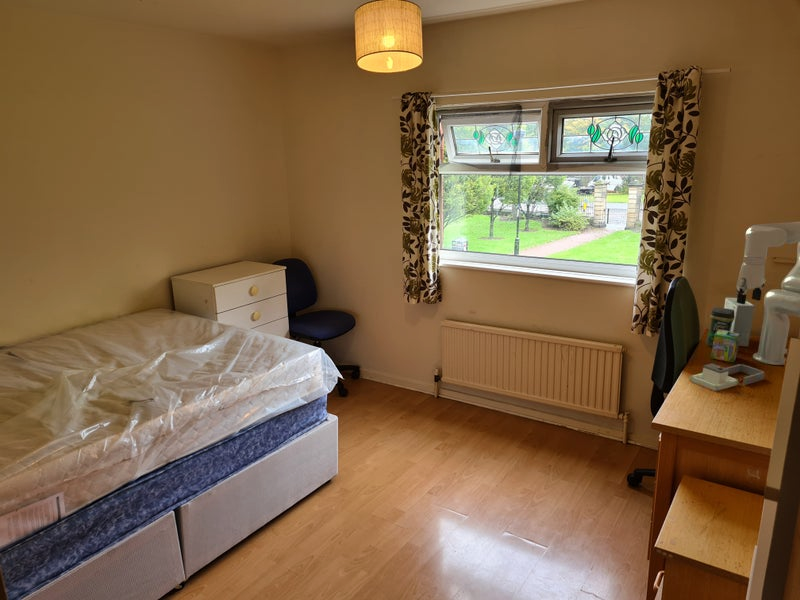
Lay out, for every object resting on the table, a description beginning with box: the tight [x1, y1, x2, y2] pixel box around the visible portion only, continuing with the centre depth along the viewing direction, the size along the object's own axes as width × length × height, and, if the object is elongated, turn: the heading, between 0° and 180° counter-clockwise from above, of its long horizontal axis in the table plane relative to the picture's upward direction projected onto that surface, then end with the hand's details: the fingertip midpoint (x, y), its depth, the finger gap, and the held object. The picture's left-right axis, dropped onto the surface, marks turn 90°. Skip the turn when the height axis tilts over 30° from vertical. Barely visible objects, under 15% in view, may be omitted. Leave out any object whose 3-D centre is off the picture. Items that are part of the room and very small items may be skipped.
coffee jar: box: [706, 306, 735, 348], centre depth 254 cm, size 10×8×19 cm
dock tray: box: [689, 372, 739, 392], centre depth 216 cm, size 13×11×2 cm
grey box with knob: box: [702, 363, 729, 385], centre depth 215 cm, size 5×7×7 cm
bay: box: [725, 363, 766, 386], centre depth 220 cm, size 13×10×3 cm
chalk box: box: [710, 326, 741, 363], centre depth 240 cm, size 9×9×15 cm
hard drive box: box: [723, 297, 756, 347], centre depth 260 cm, size 16×8×20 cm, turn 168°
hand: (748, 301), depth 221 cm, fingers open, 9 cm apart
